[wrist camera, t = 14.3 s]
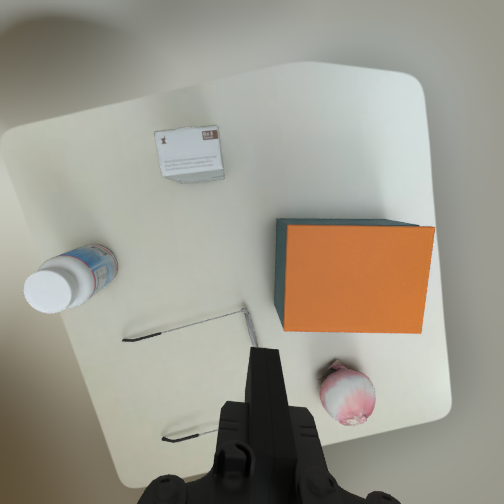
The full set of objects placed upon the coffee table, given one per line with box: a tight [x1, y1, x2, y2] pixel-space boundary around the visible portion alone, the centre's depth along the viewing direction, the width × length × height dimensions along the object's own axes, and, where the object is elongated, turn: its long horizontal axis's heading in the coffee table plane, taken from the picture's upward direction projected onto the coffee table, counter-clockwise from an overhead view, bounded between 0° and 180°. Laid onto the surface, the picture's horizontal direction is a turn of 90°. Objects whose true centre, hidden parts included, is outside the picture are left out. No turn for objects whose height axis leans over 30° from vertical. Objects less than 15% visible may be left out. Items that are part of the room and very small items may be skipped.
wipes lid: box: [283, 224, 435, 334], centre depth 35 cm, size 16×13×1 cm
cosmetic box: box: [154, 125, 224, 183], centre depth 34 cm, size 6×4×12 cm
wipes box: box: [274, 218, 419, 327], centre depth 39 cm, size 16×13×8 cm
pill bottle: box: [24, 244, 117, 313], centre depth 36 cm, size 6×6×11 cm
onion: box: [318, 360, 376, 426], centre depth 43 cm, size 8×8×7 cm
